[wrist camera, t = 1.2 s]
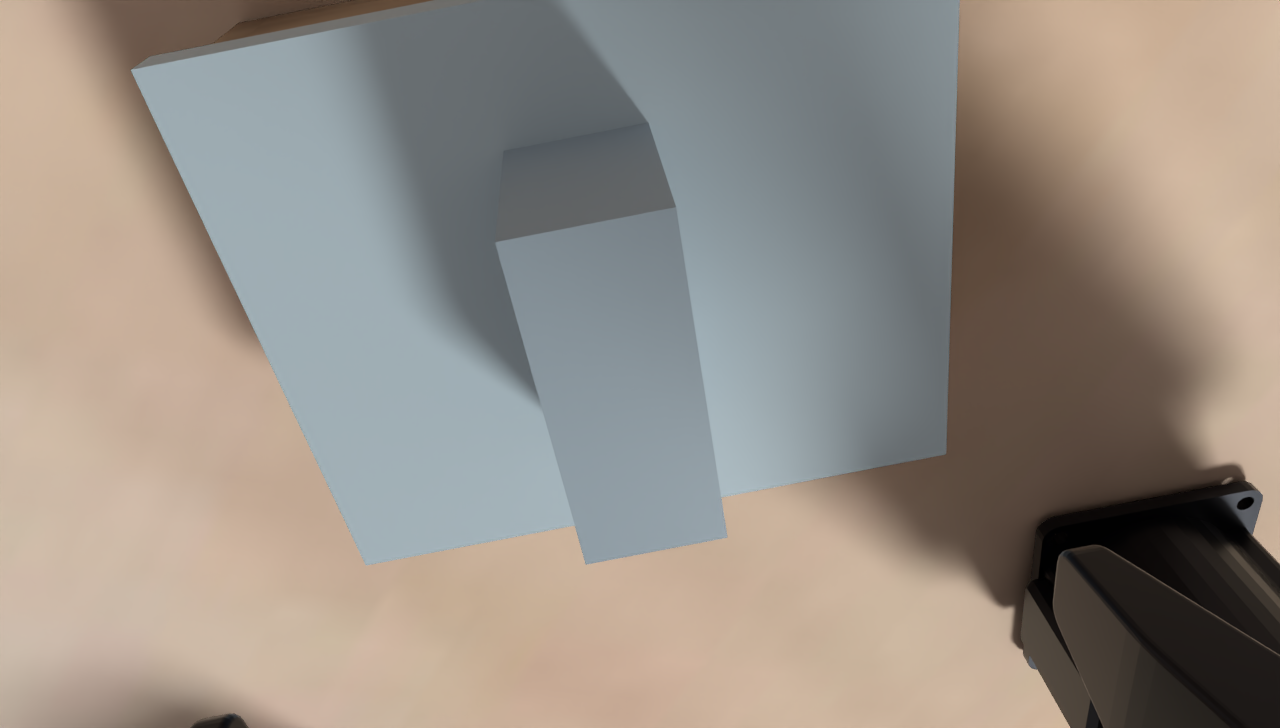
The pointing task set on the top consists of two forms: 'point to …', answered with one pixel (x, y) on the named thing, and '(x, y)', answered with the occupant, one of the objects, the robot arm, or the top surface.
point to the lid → (584, 252)
